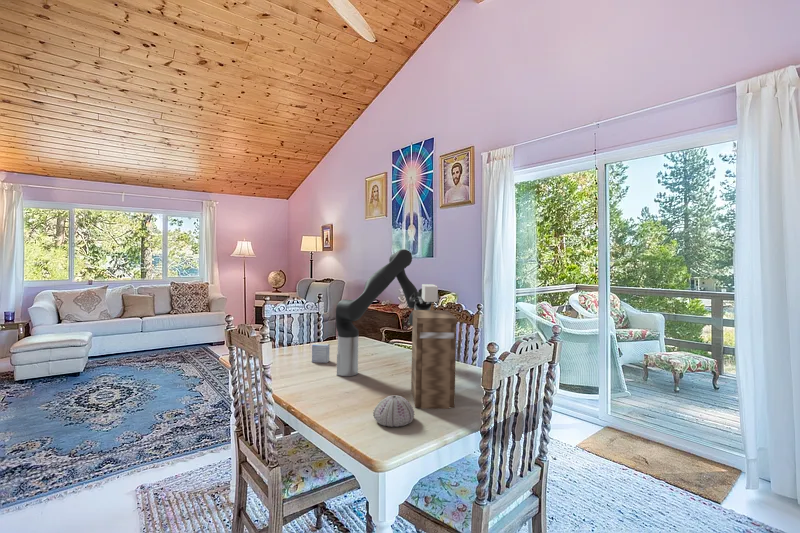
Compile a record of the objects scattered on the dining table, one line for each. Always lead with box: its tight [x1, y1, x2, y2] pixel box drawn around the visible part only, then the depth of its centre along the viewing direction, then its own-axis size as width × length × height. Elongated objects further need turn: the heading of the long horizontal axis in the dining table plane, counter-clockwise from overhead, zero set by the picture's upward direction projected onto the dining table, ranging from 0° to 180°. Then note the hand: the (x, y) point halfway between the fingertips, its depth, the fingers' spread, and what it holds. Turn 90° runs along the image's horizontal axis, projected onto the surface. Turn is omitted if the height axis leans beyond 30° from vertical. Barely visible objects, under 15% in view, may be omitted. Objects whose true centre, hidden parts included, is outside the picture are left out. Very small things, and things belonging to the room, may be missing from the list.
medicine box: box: [311, 342, 331, 364], centre depth 197 cm, size 8×4×9 cm, turn 84°
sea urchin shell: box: [372, 394, 415, 428], centre depth 128 cm, size 13×14×8 cm
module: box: [421, 283, 439, 303], centre depth 164 cm, size 5×21×6 cm, turn 3°
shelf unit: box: [410, 309, 458, 410], centre depth 148 cm, size 14×21×32 cm
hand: (426, 290), depth 170 cm, fingers closed on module, 4 cm apart
